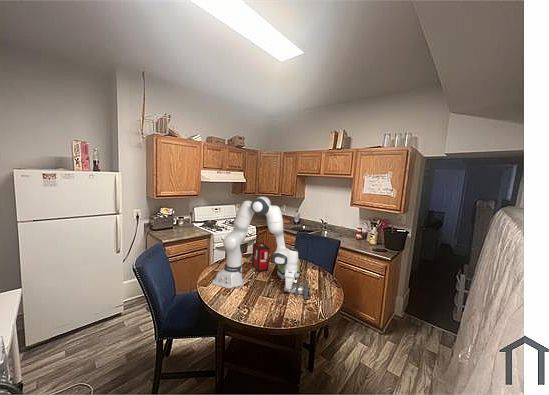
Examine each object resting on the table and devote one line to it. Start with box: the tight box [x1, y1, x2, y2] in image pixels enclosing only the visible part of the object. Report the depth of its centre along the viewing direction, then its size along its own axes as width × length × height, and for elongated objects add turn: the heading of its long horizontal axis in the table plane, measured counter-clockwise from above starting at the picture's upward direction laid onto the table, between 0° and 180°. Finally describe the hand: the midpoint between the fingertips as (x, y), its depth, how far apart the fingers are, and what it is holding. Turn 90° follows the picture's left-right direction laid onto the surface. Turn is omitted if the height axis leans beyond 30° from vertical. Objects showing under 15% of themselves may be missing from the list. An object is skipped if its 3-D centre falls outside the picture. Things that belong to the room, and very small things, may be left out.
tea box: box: [276, 258, 301, 280], centre depth 182 cm, size 15×10×15 cm
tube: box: [283, 284, 312, 296], centre depth 157 cm, size 18×5×5 cm, turn 79°
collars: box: [294, 279, 313, 299], centre depth 156 cm, size 11×10×9 cm
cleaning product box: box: [251, 241, 270, 273], centre depth 195 cm, size 16×9×20 cm, turn 25°
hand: (289, 289), depth 158 cm, fingers closed on tube, 5 cm apart
